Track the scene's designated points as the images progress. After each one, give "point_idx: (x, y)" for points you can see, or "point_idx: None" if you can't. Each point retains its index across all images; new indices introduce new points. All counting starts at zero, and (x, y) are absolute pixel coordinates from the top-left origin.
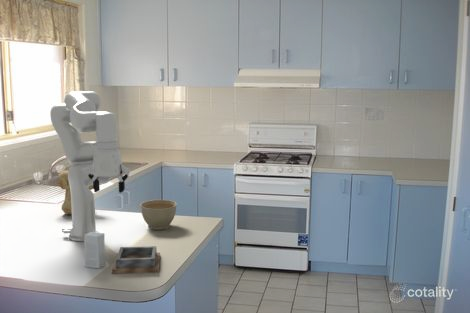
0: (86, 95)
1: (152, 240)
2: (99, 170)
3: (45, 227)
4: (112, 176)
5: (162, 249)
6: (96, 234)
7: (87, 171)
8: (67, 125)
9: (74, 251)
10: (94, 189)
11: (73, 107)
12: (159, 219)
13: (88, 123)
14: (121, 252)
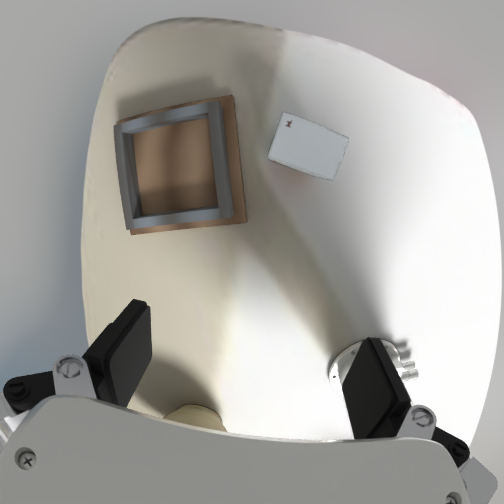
0: None
1: (186, 347)
2: None
3: (436, 400)
4: (121, 411)
5: (143, 283)
6: (297, 140)
7: (483, 478)
8: None
9: (378, 268)
10: (383, 349)
11: None
12: (179, 416)
13: None
14: (214, 165)
